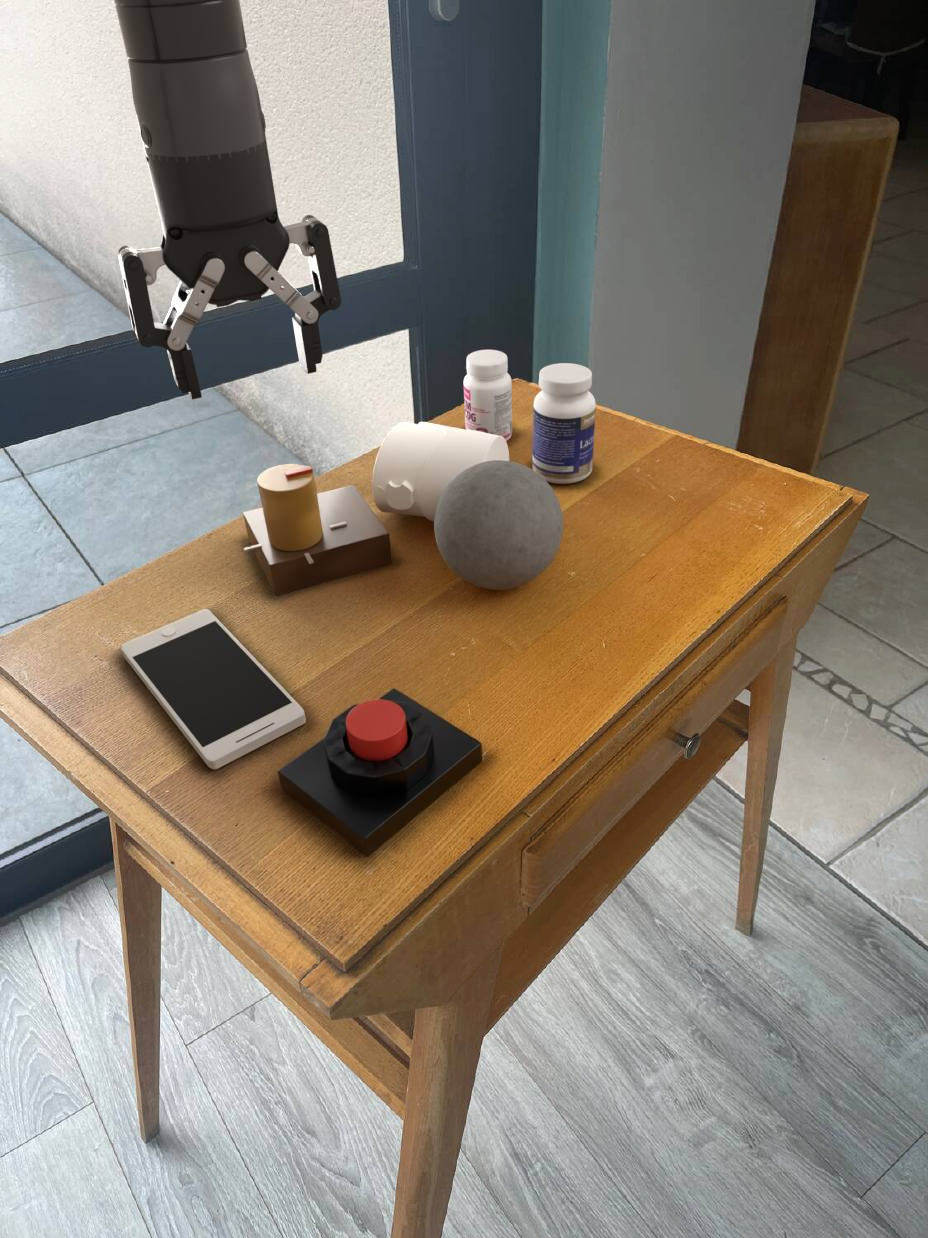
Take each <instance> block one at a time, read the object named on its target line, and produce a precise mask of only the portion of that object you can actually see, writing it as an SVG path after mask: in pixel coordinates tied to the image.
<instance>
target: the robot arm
mask: <svg viewBox="0 0 928 1238" xmlns="http://www.w3.org/2000/svg"><path fill="white" fill-rule="evenodd" d="M113 1H114V4H115V10H116V14H117V19H118V24H119V28H120V33H121V37H122V40H123V46H124V49H125V54H126V57H127V58H128V59H127V63H128V68H129V74H130V85H131V94H132V101H133V106H134V112H135V116H136V120H137V125H138V129H139V133H140V137H141V142H142V146H143V151H144V155H145V160H146V163H147V164H146V165H147V167H148V172H149V177H150V180H151V185H152V189H153V193H154V194H153V195H154V197H155V202H156V207H157V211H158V215H159V219H160V224H161V227H162V239H161V244H160V246H159V247H148V248H140V249H138V248H137V249H135V248H133V246H130V245H123V246H121V247H120V248H119V249H118V251H117V259H118V263H119V268H120V273H121V278H122V283H123V289H124V293H125V297H126V303H127V308H128V312H129V318H130V322H131V323H130V324H131V328H132V331H133V333H134V334H135V335H136V338H137V340H138V343H139V344H140V345H141V346H142V347H144V348H151V347H159V348H164V349H165V350H166V352H167V355H168V359H169V360H168V361H169V363H170V367H171V372H172V375H173V376H172V377H173V378H174V382H175V384H176V385H177V387H178V389H179V390H180V392H181V393H182V394H188V396H189V398H190V399H191V401H192V400H197V399H201V398H202V397H203V396H202V392H201V387H200V382H199V377H198V374H197V370H196V366H195V361H194V356H193V353H192V349H191V347H190V345H189V344H188V343H187V342H188V340H189V338H190V336H191V334H192V332H193V330H194V327H195V325H196V324H198V323H199V322H200V320H201V318H202V316H203V314H204V313H205V310H206V308H207V306H208V305H212V306H215V307H216V308H222V307H223V308H224V307H227V306H230V305H232V304H234V303H236V302H238V301H246V302H254V301H258V300H262V296H264V295H265V294H267V293H268V291H269V290H270V291H271V292H273V293H274V295H275V296H277V297H278V299H280V301H282V302H283V303H284V304H285V305H286V306H287V307H288V308H290V310H291V311H293V312H294V314H295V315H294V316H291V317H292V318H291V319H292V320H291V321H292V326H293V331H294V332H293V333H294V337H295V338H294V339H295V344H296V350H297V351H296V352H297V357H298V362H299V366H300V367H301V369H302V370H303V372H304V373H305V374H306V375H310V374H314V373H317V365H319V364H321V363H322V360H323V350H322V343H321V335H320V328H319V320H320V318H321V316H322V315H324V314H325V313H328V312H329V311H335V310H338V309H339V308H340V306H341V304H342V298H341V297H342V296H341V292H340V287H339V286H340V285H339V281H338V276H337V271H336V265H335V258H334V254H333V250H332V248H333V247H332V243H331V238H330V232H329V228H328V226H327V225H326V224H324V223H323V222H322V221H321V220H319V219H318V218H317V217H316V216H314V215H312V214H307V215H305V216H303V218H302V219H301V222H297V223H292V224H288V225H283V224H282V222H281V219H280V217H279V212H278V206H277V200H276V199H277V198H276V191H275V186H274V180H273V173H272V167H271V160H270V155H269V149H268V143H267V136H266V129H267V125H266V119H265V114H264V112H263V110H262V104H261V99H260V94H259V88H258V86H257V81H256V78H255V77H256V76H255V74H254V69H253V67H252V64H251V63H252V62H251V59H250V53H249V50H248V49H247V48H248V45H247V38H246V32H245V27H244V19H243V15H242V14H243V13H242V8H241V2H240V0H113ZM290 244H294V245H295V247H296V249H297V250H298V252H299V253H301V255H303V256H304V257H307V261H308V266H309V272H310V277H311V282H312V286H313V291H311V292H309V293H308V294H306V295H305V296H304V295H303V294H302V293H300V291H299V290H297V288H296V287H295V286H293V284H292V283H290V282H289V281H288V280H287V279H286V278H285V277H284V276H283V275H282V274H281V273H280V272H279V270H280V269H281V266H282V263H283V261H284V259H285V257H286V254H287V253H288V251H289V248H290ZM162 266H165V268H167V269H168V271H170V272H171V273H172V274H173V275H174V276H175V277H176V278H177V279H178V280H179V284H178V285H177V287H176V290H175V292H174V294H173V296H172V299H171V306H170V308H169V310H168V313H167V314H166V316H165V319H164V321H163V322H157V321H155V320H154V315H153V310H152V305H151V299H150V295H149V288H148V286H151V285H153V284H154V283H156V282H157V281H156V280H157V278H158V277H157V274H158V270H159V269H160V268H161V267H162Z"/></svg>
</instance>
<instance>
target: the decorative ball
mask: <svg viewBox="0 0 928 1238" xmlns="http://www.w3.org/2000/svg"><path fill="white" fill-rule="evenodd" d="M433 527H434V529H433V531H434V536H435V542H436V545H437V548H438V550H439V553H440V555H441V557H442V559H443V560H444V561H445V563H446V564H447V566H448V567H449V568H450V569H451V570H452V571H453V572H454V574H456V575H457V576H458V577H459V578H461V579H462V580H464V581H465V582H467V583H469V584H471V585H474V586H475V587H478V588H483V589H487V590H494V591H495V590H497V591H501V590H509V589H514V588H518V587H521V586H524V585H526V584H528V583H530V582H532V581H533V580H535V579H536V578H538V577H539V576H540V575H542V573H543V572H544V571H545V570H547V569H548V567H549V566H550V565H551V563H552V562H553V560H554V559H555V557H556V556H557V553H558V552H559V549H560V546H561V542H562V539H563V532H564V517H563V512H562V507H561V504H560V501H559V498H558V497H557V495H556V493H555V491H554V489H553V487H552V486H551V485H550V484H549V482H547V481H546V480H545V479H544V478H543V477H542V476H540V475H539V474H538V473H536V472H535V471H534V470H533V468H531V467H529V466H526V465H524V464H521V463H519V462H516V461H510V460H509V461H503V460H493V461H487V462H482V463H479V464H476V465H474V466H472V467H470V468H468V469H466V470H464V471H463V472H461V473H460V474H459V475H458V476H456V477H455V478H454V479H453V480H452V481H451V482H450V484H449V485H448V486H447V487H446V489H445V490H444V492H443V494H442V496H441V498H440V500H439V502H438V505H437V509H436V513H435V520H434V521H433Z"/></svg>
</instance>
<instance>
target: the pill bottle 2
mask: <svg viewBox="0 0 928 1238" xmlns="http://www.w3.org/2000/svg"><path fill="white" fill-rule="evenodd" d="M538 375H539V376H538V387H539V389H540V391H539V392H537V394H536V395H535V397H534V399H533V405H532V406H533V407H532V456H531V457H532V458H531V461H532V462H531V463H532V464H531V465H532V470H534V471H535V472H536V473H538V474H539V475H540V476H542V477H543V478H544V479H545V480H546V482H547V483H550V484H557V485H570V484H576V483H578V482H582V481H583V480H586V479H587V478H588V477H589V476H590V475H591V473H592V472H593V464H594V463H593V461H594V444H595V426H596V410H597V404H596V399H595V397H594V395H593V393H592V392H590V391H589V390H591V387H592V385H593V384H592V382H593V373H592V370H591V369H589V368H588V367H586V366H584V365H581V364H578V363H577V364H576V363H572V362H571V363H570V362H567V363H566V362H559V363H552V364H549V365H546V366H544V367H543V368H541V369H540V370H539V374H538Z"/></svg>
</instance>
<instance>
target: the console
mask: <svg viewBox="0 0 928 1238" xmlns="http://www.w3.org/2000/svg"><path fill="white" fill-rule="evenodd" d="M317 497H318V504H319V510H320V517H321V523H322V529H323V536H322V538H321V540H320V541H319V542H318V543H317V544H315V545H313V546H312V547H309V548H307V549H303V550H299V551H283V550H279V549H276V548H275V547H273V546H272V545H271V544H270V542H269V539H268V534H267V528H266V523H265V518H264V513H263V508H262V507H258V508H254V509H250V510H247V511H242V516H243V520H244V525H245V529H246V535H247V539H248V542H249V544H250V545H249V546H246V547H243V551H244V552H249V551H253V552H254V555H255V556H256V559H257V560H258V563H259V564H260V567H261V569H262V570H263V573H264V574H265V576H266V578H267V581H268V583H269V584H270V587H271V589H272V590H273V593H274V595H275V596H281V595H285V594H288V593H291V592H295V591H299V590H301V589H306V588H309V587H312V586H317V585H320V584H323V583H327V582H331V581H335V580H337V579H341V578H345V577H348V576H352V575H356V574H359V573H362V572H366V571H369V570H373V569H377V568H380V567H384V566H387V565H391V564H393V557H392V556H393V555H392V547H391V538H390V532H389V531H388V529H387V528H386V527H385V525H384V524H383V523H382V521H381V520H380V519H379V517H378V516H377V514H376V513H375V512H374V510H373V509H372V508H371V506H370V505H369V503H367V501H366V500H365V498H364V497H363V496H362V494H361V493H360V491H359V490H358V489H357V487H356V486H355V485H354V484H351V485H348V486H347V485H346V486H342V487H338V488H335V489H331V490H326V491H323V492H317Z"/></svg>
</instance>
